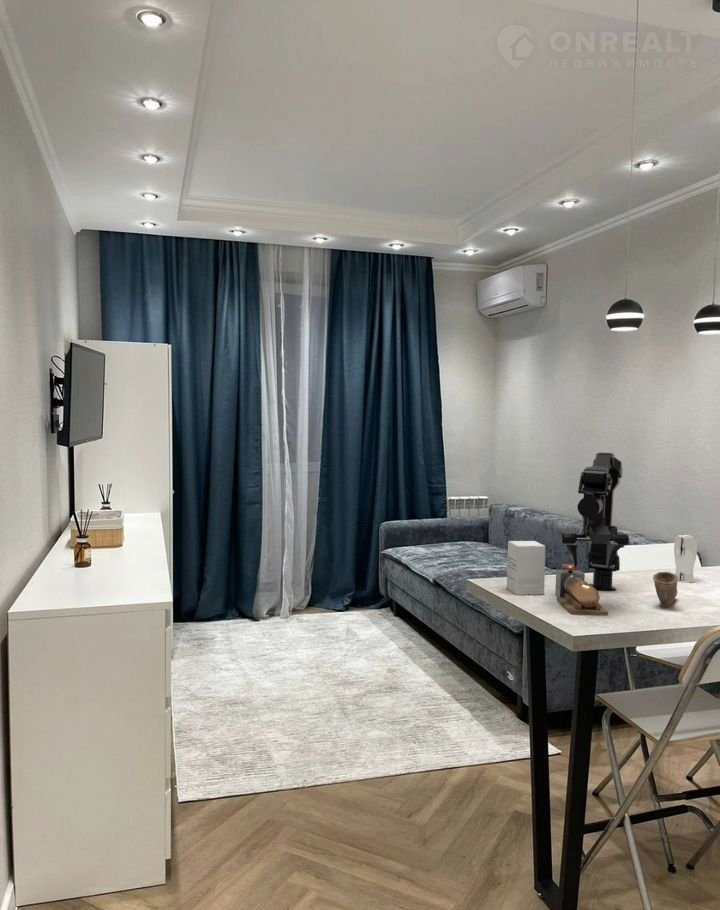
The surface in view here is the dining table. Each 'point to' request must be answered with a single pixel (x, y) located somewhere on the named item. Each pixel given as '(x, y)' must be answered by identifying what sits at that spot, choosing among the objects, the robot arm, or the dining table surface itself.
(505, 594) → the dining table surface
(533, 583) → the supplement box
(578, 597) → the tan rounded oblong piece
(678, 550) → the beer glass
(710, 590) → the dining table surface
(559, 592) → the valve block
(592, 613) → the pipe cradle
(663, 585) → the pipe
